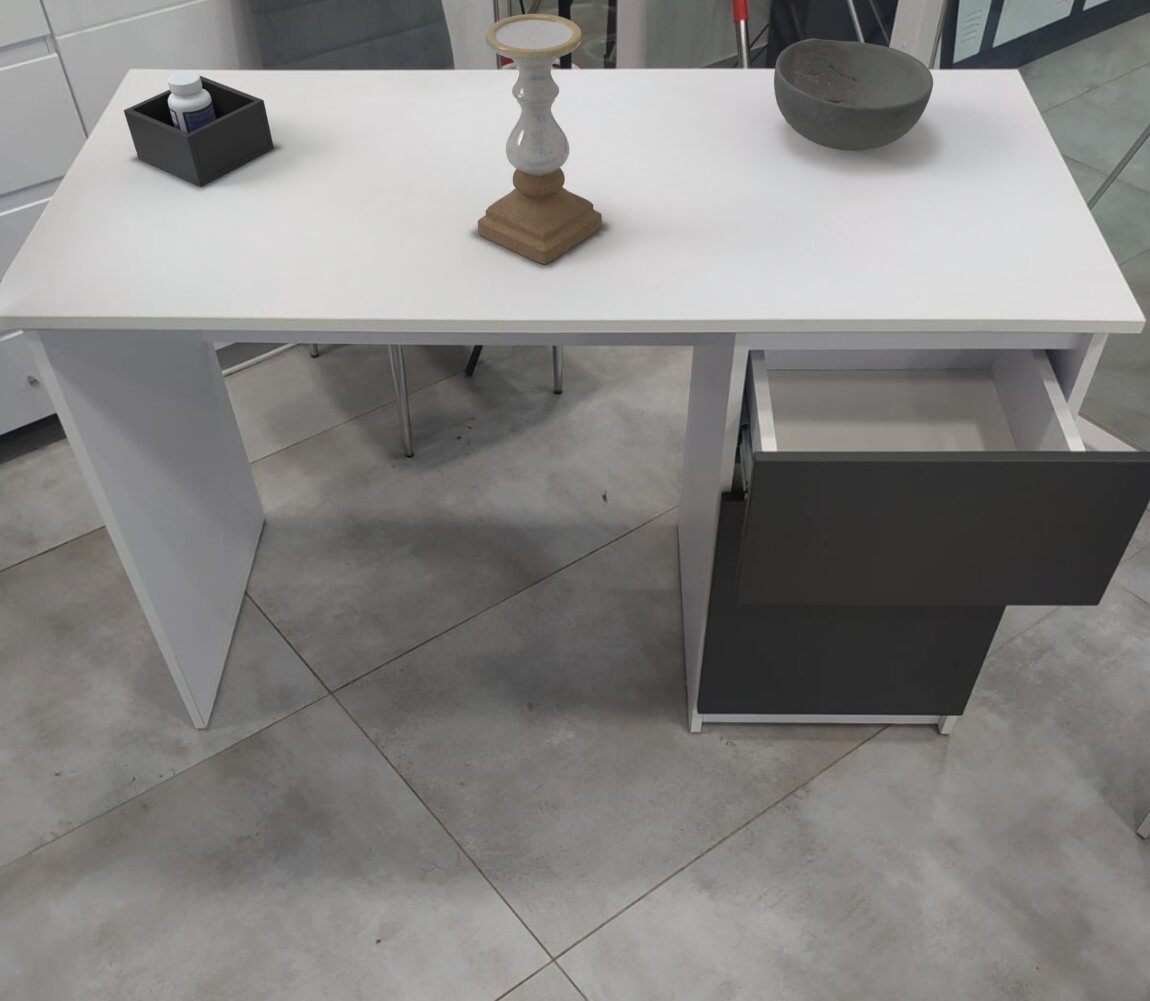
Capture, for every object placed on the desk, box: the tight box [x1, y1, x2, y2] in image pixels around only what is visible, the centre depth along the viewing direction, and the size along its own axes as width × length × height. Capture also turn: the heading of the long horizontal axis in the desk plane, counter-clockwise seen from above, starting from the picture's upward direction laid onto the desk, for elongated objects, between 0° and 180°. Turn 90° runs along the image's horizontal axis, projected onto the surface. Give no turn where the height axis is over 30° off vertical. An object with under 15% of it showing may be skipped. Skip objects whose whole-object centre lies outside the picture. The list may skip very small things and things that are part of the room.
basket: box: [123, 75, 275, 188], centre depth 146 cm, size 13×13×7 cm
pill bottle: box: [167, 71, 216, 134], centre depth 144 cm, size 5×5×10 cm
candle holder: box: [477, 13, 603, 265], centre depth 126 cm, size 11×11×24 cm
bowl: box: [773, 38, 934, 152], centre depth 147 cm, size 20×20×10 cm
